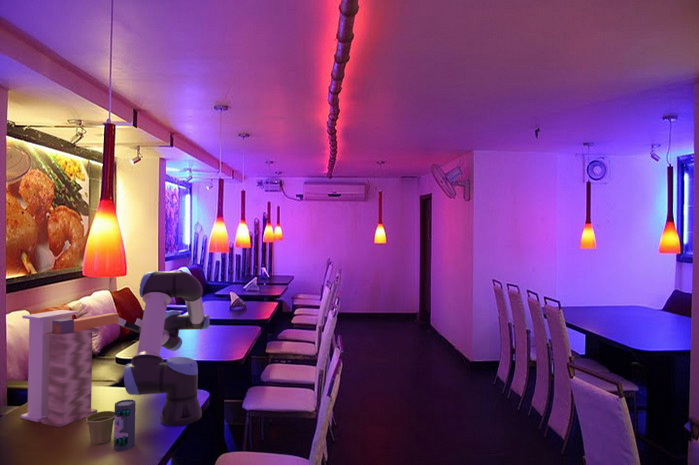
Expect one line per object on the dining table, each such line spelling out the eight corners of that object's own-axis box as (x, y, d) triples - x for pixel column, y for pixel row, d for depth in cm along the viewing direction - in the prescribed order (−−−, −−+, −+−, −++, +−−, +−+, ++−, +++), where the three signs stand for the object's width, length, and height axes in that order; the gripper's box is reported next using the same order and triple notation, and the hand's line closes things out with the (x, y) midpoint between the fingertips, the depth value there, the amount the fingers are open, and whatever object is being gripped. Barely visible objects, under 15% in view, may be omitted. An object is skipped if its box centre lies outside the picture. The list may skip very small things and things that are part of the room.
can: (110, 447, 153) (111, 403, 153) (128, 441, 158) (129, 398, 158) (120, 452, 149) (121, 407, 149) (137, 445, 154) (138, 402, 154)
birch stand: (80, 408, 187) (81, 326, 187) (97, 412, 183) (98, 328, 183) (41, 422, 172) (42, 333, 172) (58, 427, 168) (60, 336, 169)
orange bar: (110, 321, 197) (110, 310, 198) (119, 322, 196) (119, 311, 196) (52, 333, 173) (52, 320, 173) (61, 334, 171) (61, 321, 171)
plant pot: (102, 448, 152) (103, 422, 152) (78, 445, 154) (79, 420, 154) (122, 436, 161) (122, 412, 162) (99, 433, 163) (99, 409, 163)
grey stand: (60, 404, 191) (61, 309, 192) (76, 407, 188) (78, 311, 188) (20, 417, 177) (22, 315, 177) (37, 422, 173) (39, 317, 173)
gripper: (173, 345, 212) (142, 330, 195) (134, 339, 221) (101, 325, 204) (179, 330, 215) (149, 314, 198) (140, 325, 225) (108, 309, 208)
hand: (125, 319), depth 201 cm, fingers open, 13 cm apart
